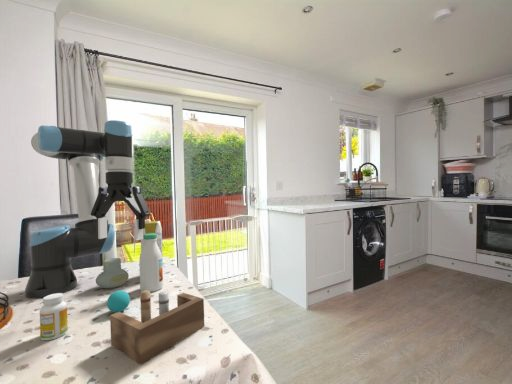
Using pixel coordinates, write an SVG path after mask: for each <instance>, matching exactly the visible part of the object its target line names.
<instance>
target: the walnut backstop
mask: <svg viewBox="0 0 512 384" xmlns="http://www.w3.org/2000/svg"><path fill="white" fill-rule="evenodd" d="M176 296H177V297H176V301H177V302H176V303H177V306H176V307H174V308H172V309H169V311H168V312H165V313H163V314H161V315H159V314H158V316H155V317H153V318H151V320H148V321H146V322H144V323H142V322H141V321H140V320H137V319H136V318H134V317H131V316H129V315H127V314H125V313H123V312H122V311H121V312H113V313H112V314H110V315H109V319H110V320H109V321H110V346H111V347H112V348H114V349H116V350H117V351H119V352H120V353H121V354H124V355H125V356H127V357H128V358H129V359H131V360H133V361H135V362H136V363H138V364H139V365H143V364H144V363H146V362H147V361H149V360H151V359H152V358H154V357H156V356H157V355H159V354H160V353H162V352H164V351H166V350H167V349H169V348H171V347H172V346H175V344H177V343H178V342H180V341H182V340H183V339H186V338H187V337H189V336H190V335H192V334H194V333H195V332H197V331H199V330H200V329H202V328H203V327H205V304H204V303H205V302H204V301H205V300H204V299H205V298H202V297H198V296H195V295H193V294H189V293H185V292H180V293H179V294H177V295H176Z"/></svg>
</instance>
